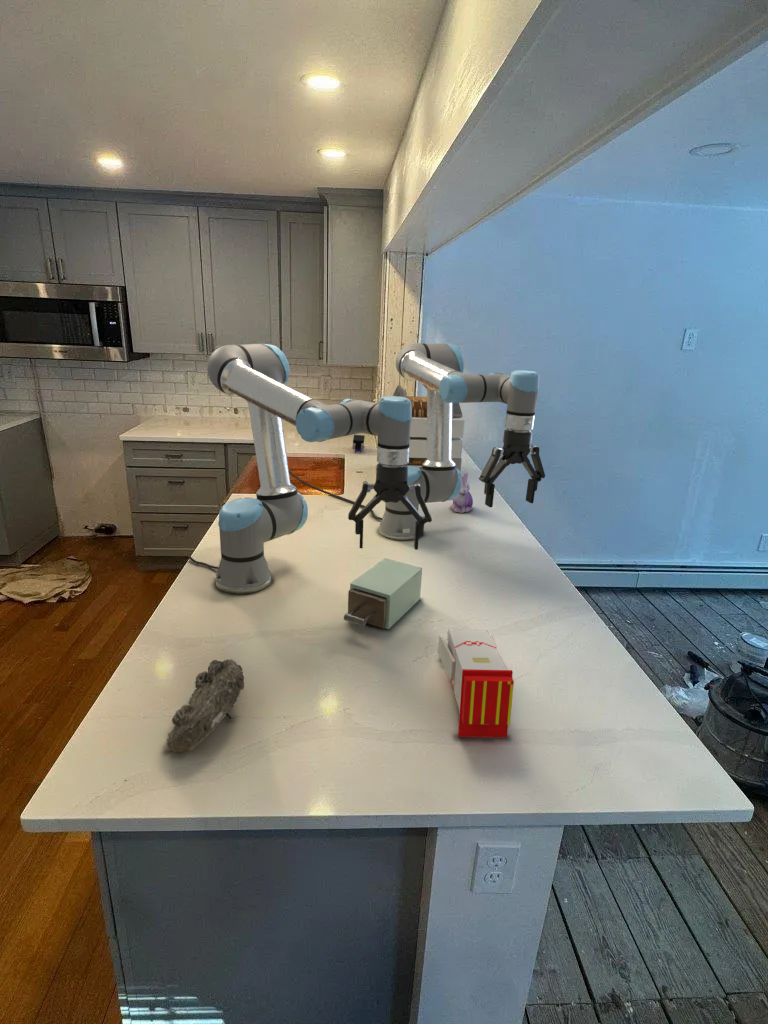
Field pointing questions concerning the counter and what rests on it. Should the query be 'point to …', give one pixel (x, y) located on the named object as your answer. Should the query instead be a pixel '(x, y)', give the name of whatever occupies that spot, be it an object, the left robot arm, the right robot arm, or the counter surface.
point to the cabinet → (392, 586)
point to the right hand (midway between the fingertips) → (509, 503)
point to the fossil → (206, 705)
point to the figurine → (463, 497)
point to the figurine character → (358, 442)
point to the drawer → (366, 608)
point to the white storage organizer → (420, 430)
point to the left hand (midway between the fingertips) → (388, 547)
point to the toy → (478, 682)
